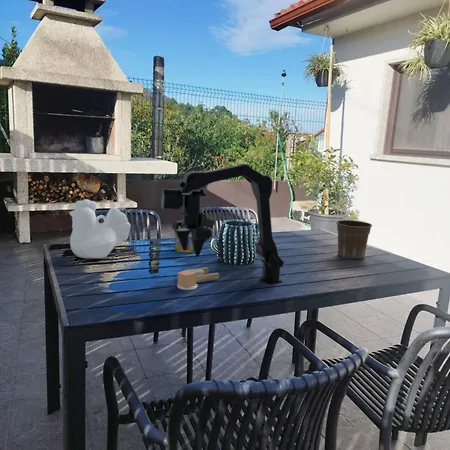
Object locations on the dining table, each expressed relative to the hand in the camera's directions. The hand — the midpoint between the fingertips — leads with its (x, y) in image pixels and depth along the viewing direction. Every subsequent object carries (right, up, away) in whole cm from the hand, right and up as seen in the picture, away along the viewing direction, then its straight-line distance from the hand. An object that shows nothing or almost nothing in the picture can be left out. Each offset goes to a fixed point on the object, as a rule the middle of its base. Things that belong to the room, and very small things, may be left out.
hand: (191, 253), depth 148 cm
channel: (+3, -10, +12) cm, 16 cm away
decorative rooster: (-41, -4, +33) cm, 53 cm away
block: (-2, -11, +1) cm, 11 cm away
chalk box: (-6, -2, +52) cm, 52 cm away
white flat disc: (-1, -12, +1) cm, 12 cm away
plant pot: (+72, -5, +55) cm, 90 cm away
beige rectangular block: (0, -10, +10) cm, 15 cm away
